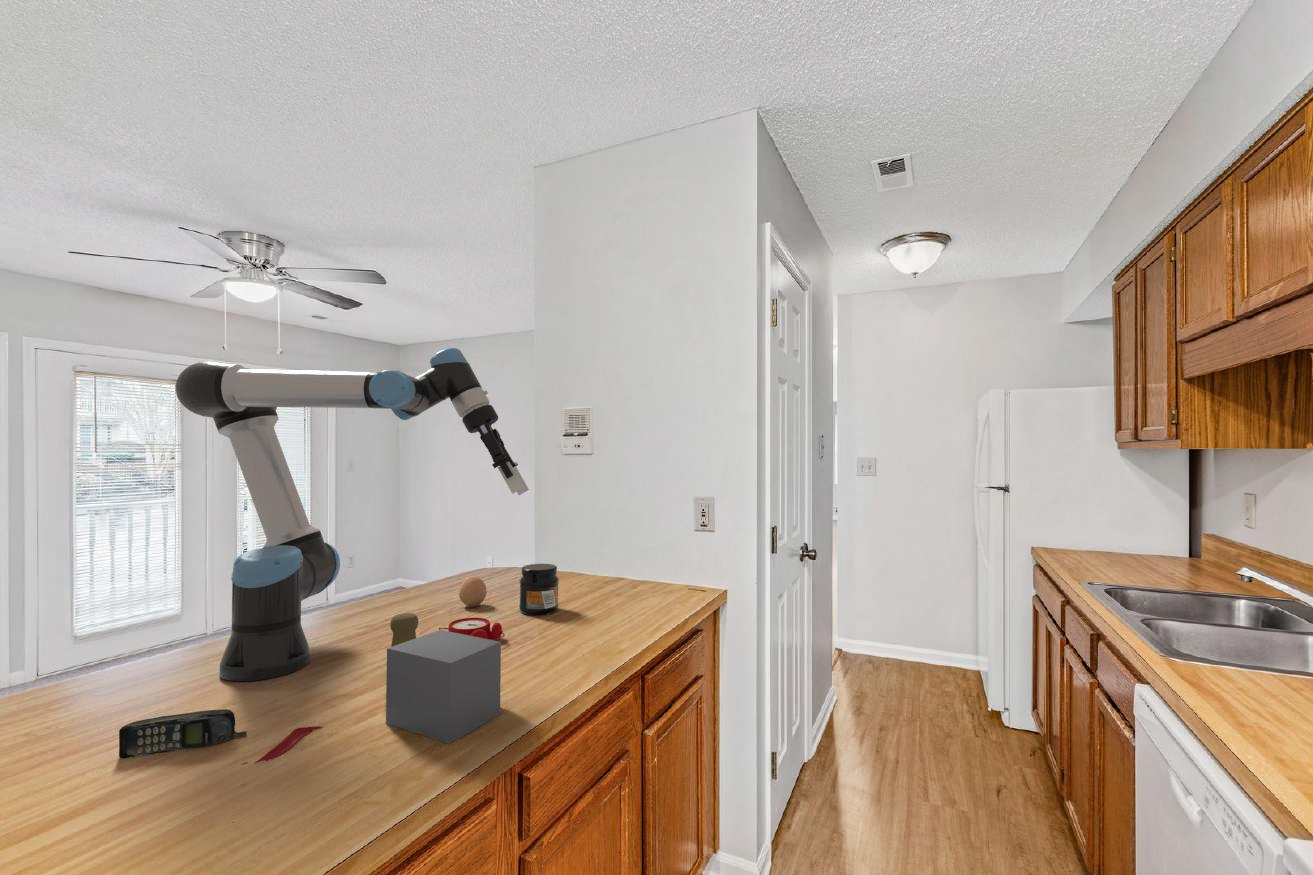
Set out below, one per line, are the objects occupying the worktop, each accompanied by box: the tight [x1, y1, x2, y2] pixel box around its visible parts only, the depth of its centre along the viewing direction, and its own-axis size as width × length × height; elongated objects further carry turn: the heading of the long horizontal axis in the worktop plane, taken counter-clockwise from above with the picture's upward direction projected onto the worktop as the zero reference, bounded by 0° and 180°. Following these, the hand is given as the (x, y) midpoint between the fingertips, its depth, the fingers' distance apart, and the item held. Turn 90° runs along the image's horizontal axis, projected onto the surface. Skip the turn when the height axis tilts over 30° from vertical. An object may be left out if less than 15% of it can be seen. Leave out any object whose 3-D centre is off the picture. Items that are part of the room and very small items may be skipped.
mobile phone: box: [118, 708, 248, 759], centre depth 87 cm, size 5×3×15 cm
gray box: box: [385, 629, 502, 744], centre depth 96 cm, size 11×14×12 cm
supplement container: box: [518, 563, 560, 616], centre depth 160 cm, size 10×10×12 cm
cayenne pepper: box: [252, 726, 325, 764], centre depth 88 cm, size 12×5×2 cm, turn 153°
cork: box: [389, 612, 419, 647], centre depth 117 cm, size 6×6×11 cm
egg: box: [458, 575, 488, 608], centre depth 164 cm, size 7×7×8 cm
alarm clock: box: [438, 617, 506, 641], centre depth 135 cm, size 10×6×15 cm
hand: (521, 491), depth 134 cm, fingers open, 13 cm apart
